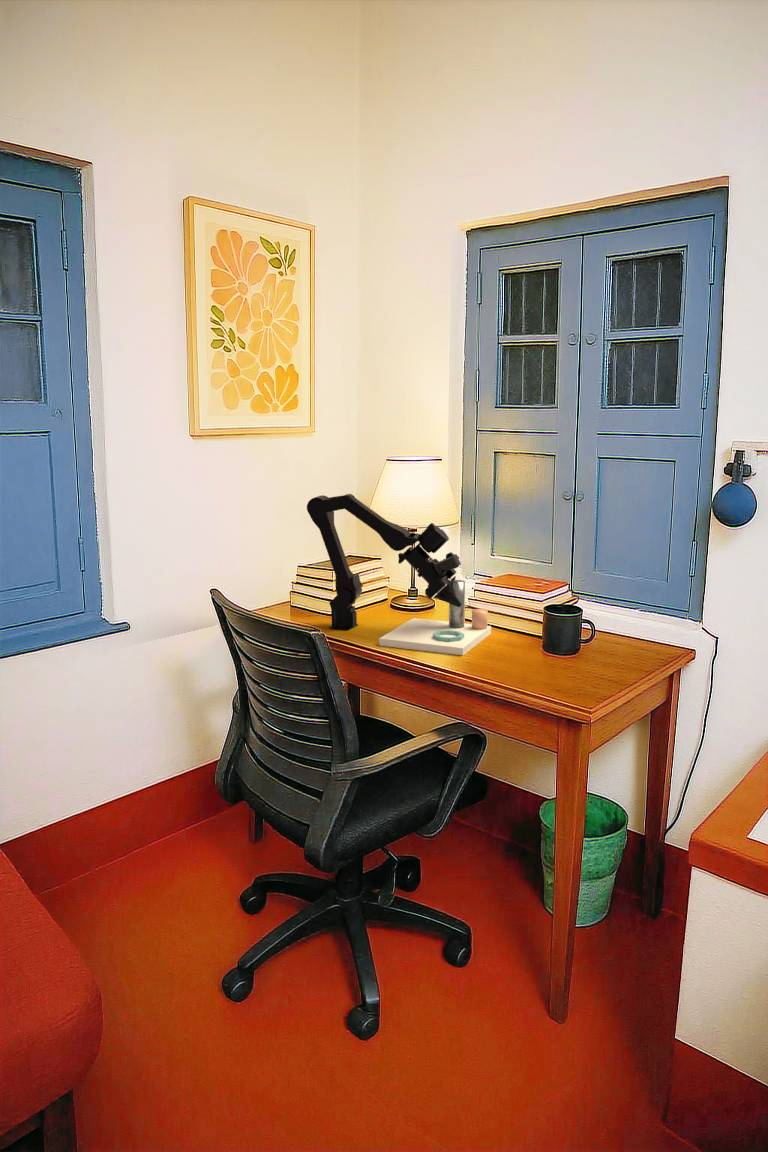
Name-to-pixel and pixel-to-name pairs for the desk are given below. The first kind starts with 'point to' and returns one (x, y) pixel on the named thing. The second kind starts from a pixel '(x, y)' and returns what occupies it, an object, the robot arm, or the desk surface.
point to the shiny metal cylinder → (456, 612)
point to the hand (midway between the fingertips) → (461, 604)
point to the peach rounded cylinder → (479, 619)
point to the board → (434, 637)
